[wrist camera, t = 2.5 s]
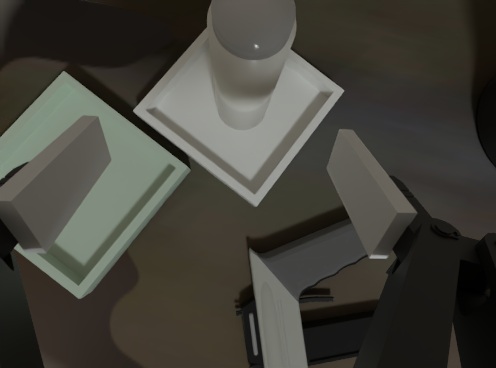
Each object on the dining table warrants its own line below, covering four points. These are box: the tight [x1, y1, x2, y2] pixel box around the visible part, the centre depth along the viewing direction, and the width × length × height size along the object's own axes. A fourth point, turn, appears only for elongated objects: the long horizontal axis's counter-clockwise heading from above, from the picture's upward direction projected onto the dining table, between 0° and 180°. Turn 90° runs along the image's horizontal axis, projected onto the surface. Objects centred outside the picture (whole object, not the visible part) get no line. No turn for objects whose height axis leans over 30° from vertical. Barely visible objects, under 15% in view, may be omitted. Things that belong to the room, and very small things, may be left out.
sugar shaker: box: [207, 0, 296, 130], centre depth 20 cm, size 5×5×13 cm
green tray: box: [0, 71, 191, 299], centre depth 24 cm, size 15×15×2 cm
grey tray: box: [133, 28, 344, 207], centre depth 26 cm, size 15×15×2 cm
